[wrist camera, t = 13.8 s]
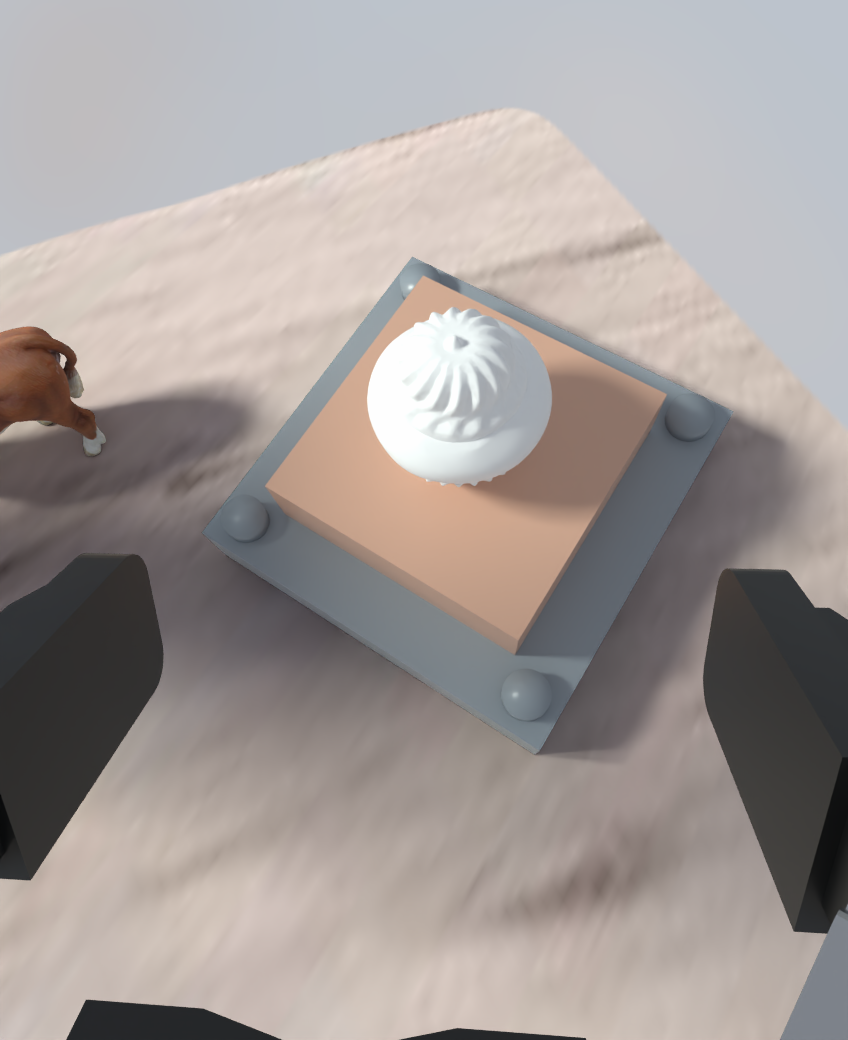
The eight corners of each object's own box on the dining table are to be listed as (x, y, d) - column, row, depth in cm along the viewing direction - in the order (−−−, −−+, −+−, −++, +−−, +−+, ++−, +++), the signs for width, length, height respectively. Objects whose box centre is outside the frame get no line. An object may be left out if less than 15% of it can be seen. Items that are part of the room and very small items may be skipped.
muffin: (493, 549, 26) (495, 469, 20) (349, 472, 28) (308, 374, 21) (573, 413, 28) (600, 298, 22) (433, 347, 30) (419, 221, 23)
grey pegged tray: (225, 554, 34) (173, 506, 28) (417, 296, 38) (406, 209, 32) (534, 754, 30) (546, 746, 24) (712, 443, 34) (758, 373, 28)
